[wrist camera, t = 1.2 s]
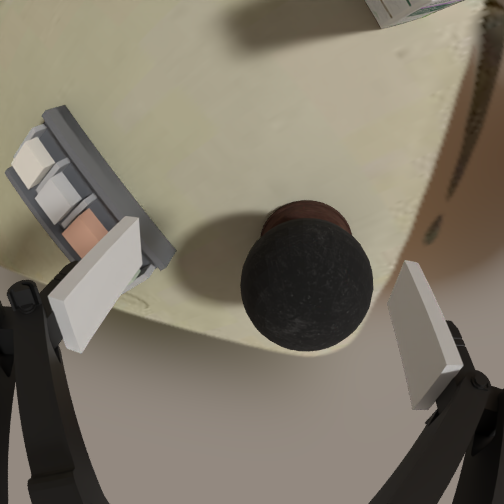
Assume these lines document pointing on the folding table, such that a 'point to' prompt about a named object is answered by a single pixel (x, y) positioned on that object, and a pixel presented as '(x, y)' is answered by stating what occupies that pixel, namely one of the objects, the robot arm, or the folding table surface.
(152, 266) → the keypad board
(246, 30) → the folding table surface
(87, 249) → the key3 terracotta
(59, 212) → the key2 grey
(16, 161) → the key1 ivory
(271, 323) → the black ball on stand
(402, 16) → the syrup box
